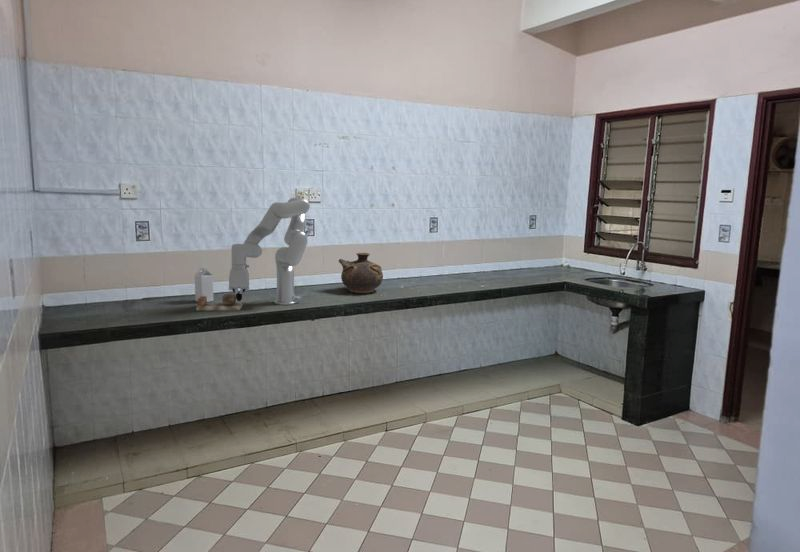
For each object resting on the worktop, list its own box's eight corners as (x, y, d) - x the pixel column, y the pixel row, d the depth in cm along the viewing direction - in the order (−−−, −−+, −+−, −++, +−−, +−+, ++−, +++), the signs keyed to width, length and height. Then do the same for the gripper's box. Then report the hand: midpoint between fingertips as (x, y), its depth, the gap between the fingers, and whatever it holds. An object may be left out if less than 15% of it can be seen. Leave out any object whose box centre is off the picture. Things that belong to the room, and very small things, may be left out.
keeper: (235, 303, 294) (235, 294, 294) (234, 305, 289) (234, 296, 288) (224, 303, 293) (224, 294, 293) (222, 305, 288) (222, 296, 287)
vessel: (331, 289, 349) (333, 251, 346) (365, 287, 368) (367, 251, 365) (357, 296, 329) (359, 255, 326) (391, 293, 348) (393, 255, 345)
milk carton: (206, 299, 310) (205, 266, 307) (213, 301, 306) (212, 268, 303) (195, 301, 305) (194, 267, 302) (202, 303, 300) (201, 269, 297)
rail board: (242, 305, 298) (242, 295, 297) (239, 310, 287) (239, 299, 286) (200, 305, 294) (200, 295, 293) (196, 310, 283) (196, 300, 282)
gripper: (254, 266, 293) (254, 299, 296) (225, 265, 291) (225, 299, 294) (252, 268, 286) (252, 302, 289) (223, 267, 283) (223, 302, 286)
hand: (239, 300), depth 291 cm, fingers closed
